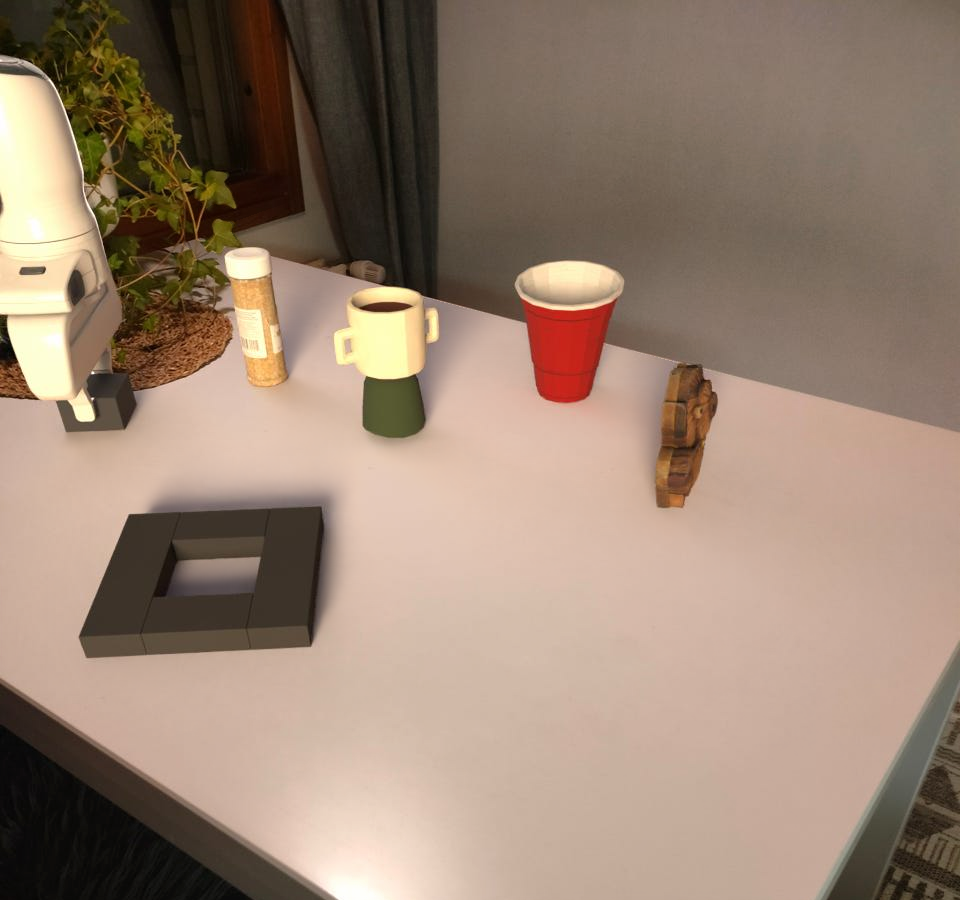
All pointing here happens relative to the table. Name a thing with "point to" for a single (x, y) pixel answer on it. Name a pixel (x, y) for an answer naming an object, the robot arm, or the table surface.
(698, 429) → the wooden carving
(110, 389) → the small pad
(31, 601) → the table surface
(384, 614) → the table surface
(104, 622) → the base pad
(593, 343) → the plastic cup
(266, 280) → the sprinkles bottle
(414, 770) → the table surface
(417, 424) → the character mug
